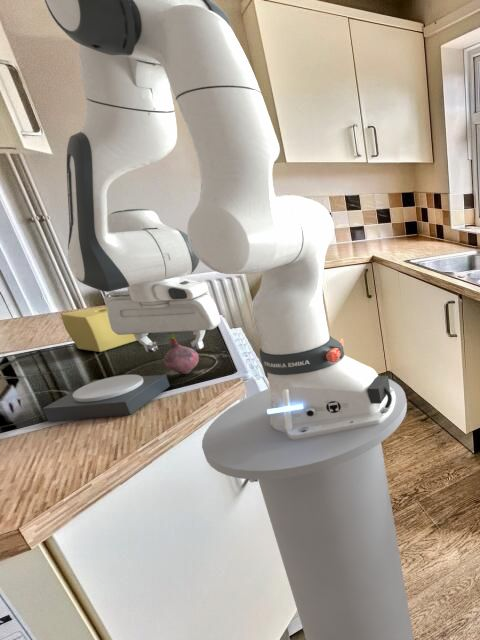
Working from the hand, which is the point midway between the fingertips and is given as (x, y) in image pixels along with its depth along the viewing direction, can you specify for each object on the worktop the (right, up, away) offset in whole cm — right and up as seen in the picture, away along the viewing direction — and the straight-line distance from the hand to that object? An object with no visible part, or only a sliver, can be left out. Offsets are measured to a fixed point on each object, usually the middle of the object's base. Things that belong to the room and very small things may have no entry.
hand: (175, 349), depth 94 cm
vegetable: (+1, -6, +2) cm, 6 cm away
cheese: (-36, +1, +23) cm, 43 cm away
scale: (-5, -10, -10) cm, 15 cm away
